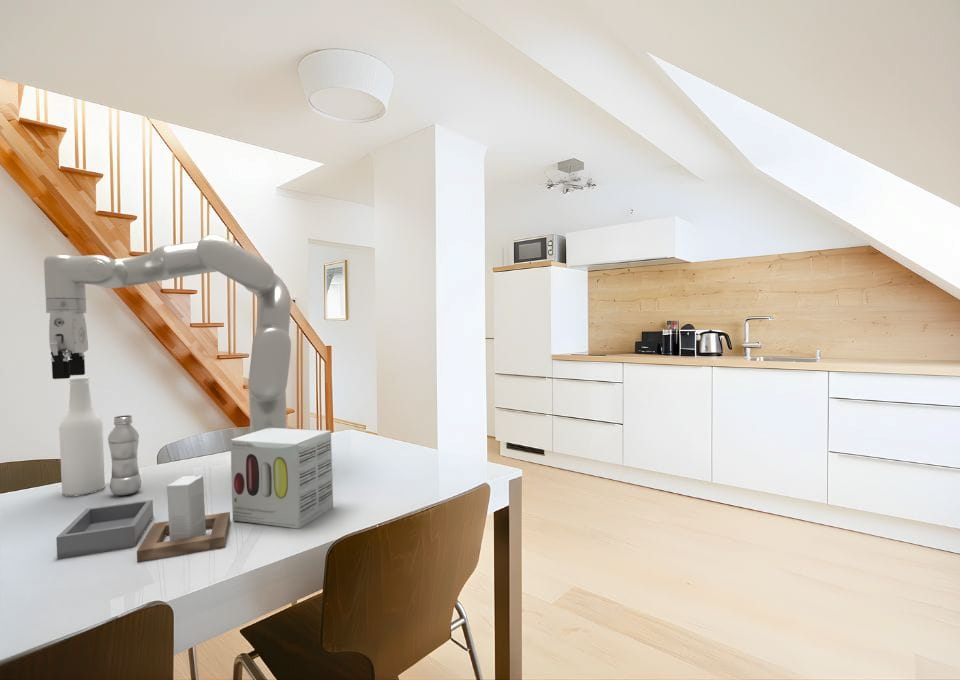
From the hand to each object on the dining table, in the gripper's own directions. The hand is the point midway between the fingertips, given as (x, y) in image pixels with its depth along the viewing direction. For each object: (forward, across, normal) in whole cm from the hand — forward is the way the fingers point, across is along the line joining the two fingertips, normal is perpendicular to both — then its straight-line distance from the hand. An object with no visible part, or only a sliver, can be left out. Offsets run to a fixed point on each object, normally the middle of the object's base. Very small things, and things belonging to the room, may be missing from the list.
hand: (69, 376), depth 121 cm
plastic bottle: (+31, +1, -10) cm, 33 cm away
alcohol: (+31, +9, +1) cm, 32 cm away
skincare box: (+31, -38, -30) cm, 57 cm away
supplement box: (+31, -32, -48) cm, 65 cm away
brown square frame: (+31, -38, -30) cm, 57 cm away
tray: (+31, -29, -14) cm, 45 cm away
